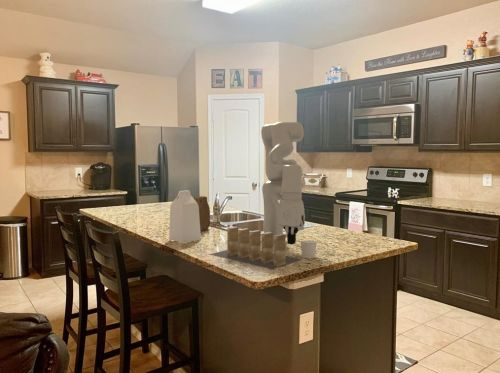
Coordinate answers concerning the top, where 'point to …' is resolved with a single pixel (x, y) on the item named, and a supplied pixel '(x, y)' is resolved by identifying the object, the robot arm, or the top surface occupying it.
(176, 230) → the milk
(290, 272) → the top surface
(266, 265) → the mat
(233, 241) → the end domino
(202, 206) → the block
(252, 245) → the domino
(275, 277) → the top surface
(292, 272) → the top surface
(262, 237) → the domino
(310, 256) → the shot glass
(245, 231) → the domino
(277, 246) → the domino
